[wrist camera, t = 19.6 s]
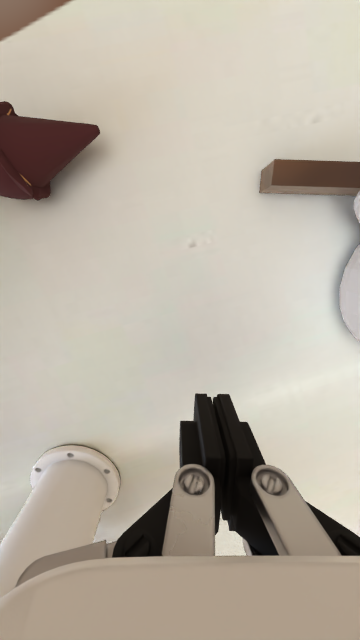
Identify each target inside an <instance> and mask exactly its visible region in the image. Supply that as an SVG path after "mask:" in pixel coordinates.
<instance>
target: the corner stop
mask: <svg viewBox="0 0 360 640" xmlns="http://www.w3.org/2000/svg"><path fill="white" fill-rule="evenodd" d="M359 191H360V162H343V161H312V160H281V159H275V160H273V161H272V162H271V163H270V164H269V165H268V166H267V167H265V168H264V169H263V170H262V173H261V182H260V191H259V193H281V194H314V195H346V196H357V194H358V192H359Z"/></svg>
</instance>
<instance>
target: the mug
mask: <svg viewBox="0 0 360 640" xmlns="http://www.w3.org/2000/svg"><path fill="white" fill-rule="evenodd" d="M354 211H355V215H356V217H357V219H358V221H359V223H360V191H359V192H358V194H357V196H356V198H355V200H354ZM340 310H341V313H342V317H343V320H344V323H345V324H346V326H347V327H348V329H349V330H350V332H351V333H352V335H353V336H354V337H355V338H356V339H357V340H358V341H359V342H360V244H359V245H358V247H357V248H356V249H355V251H354V253H353V255H352V256H351V258H350V260H349V262H348V264H347V266H346V267H345V270H344V274H343V278H342V281H341V285H340Z"/></svg>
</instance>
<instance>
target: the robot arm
mask: <svg viewBox="0 0 360 640" xmlns="http://www.w3.org/2000/svg"><path fill="white" fill-rule="evenodd" d="M179 452H180V469H179V470H178V471H177V473H176V475H175V478H174V484H173V488H172V489H171V490H170V491H169V492H168V493H167V494H166V495H165V496H164V497H162V498H161V499H160V500H159V501H158V502H157V503H156V504H155V505H154V506H153V507H151V508H150V509H149V510H148V511H147V512H146V513H145V514H144V515H143V516H142V517H141V518H139V519H138V520H137V521H136V522H135V523H134V524H133V525H132V526H131V527H130V528H128V529H127V530H126V531H125V532H124V533H123V534H122V535H121V537H120V538H119V539H118V540H117V541H115V542H112V543H108V544H106V540H104V541H101V542H97V543H93V540H94V536H95V533H96V529H97V526H98V523H99V519H100V516H101V512H102V511H104V510H105V509H107V508H109V507H110V506H111V505H112V504H113V502H114V501H115V499H116V498H117V495H118V492H119V487H120V477H119V473H118V471H117V469H116V467H115V466H114V464H113V463H112V462H111V461H110V460H109V459H108V458H107V457H105V456H104V455H103V454H101V453H99V452H97V451H96V450H93V449H90V448H87V447H83V446H74V445H68V446H60V447H57V448H53V449H51V450H49V451H47V452H46V453H44V454H43V455H42V456H41V457H40V458H39V459H38V460H37V462H36V463H35V465H34V466H33V468H32V471H31V474H30V483H31V487H32V492H31V494H30V495H29V497H28V499H27V500H26V502H25V504H24V506H23V507H22V509H21V511H20V512H19V514H18V516H17V517H16V519H15V521H14V522H13V524H12V526H11V527H10V529H9V531H8V532H7V534H6V536H5V537H4V539H3V541H2V542H1V544H0V640H360V537H359V536H357V535H356V534H355V533H353V532H352V531H350V530H349V529H347V528H345V527H344V526H342V525H341V524H339V523H338V522H336V521H335V520H333V519H332V518H330V517H329V516H327V515H326V514H324V513H323V512H321V511H320V510H318V509H317V508H315V507H314V506H312V505H310V504H309V503H307V502H306V501H305V500H304V499H303V497H302V496H301V494H300V493H299V491H298V490H297V488H296V487H295V486H294V484H293V483H292V481H291V480H290V478H289V477H288V476H287V475H286V474H285V473H284V472H283V471H281V470H280V469H278V468H276V467H274V466H270V465H266V464H265V461H264V459H263V457H262V454H261V452H260V450H259V447H258V445H257V443H256V440H255V438H254V436H253V433H252V431H251V429H250V426H249V424H248V423H247V422H240V421H239V419H238V416H237V413H236V411H235V408H234V406H233V403H232V400H231V398H230V395H229V394H218V395H217V397H214V398H213V404H212V400H211V397H207V394H195V405H194V421H180V443H179ZM220 511H221V513H222V518H223V520H227V521H228V526H229V531H236V532H237V533H238V534H239V535H240V536H241V537H242V538H243V546H244V550H245V552H246V555H247V556H215V535H216V534H217V532H218V529H219V520H220ZM92 543H93V544H92Z"/></svg>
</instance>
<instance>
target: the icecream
mask: <svg viewBox="0 0 360 640" xmlns="http://www.w3.org/2000/svg"><path fill="white" fill-rule="evenodd" d="M99 134H100V130H99V128H98V126H97V125H92V124H84V123H75V122H65V121H56V120H47V119H39V118H30V117H21V116H18V115H16V114H15V112H14V109H13V107H12V105H11V104H10V103H9V102H5V101H4V102H0V196H4V197H8V198H15V199H23V200H25V199H33V198H34V199H36V200H40V199H42V198H47V197H49V196H50V193H51V188H50V180H51V179H53V178H54V177H55V176H56V175H57V174H58V173H59V172H60V171H61V170H62V169H63V168H64V167H65V166H66V165H67V164H68V163H69V162H70V161H71V160H72V159H74V158H75V157H76V156H77V155H78V154H79V153H80V152H81V151H82V150H83V149H84V148H85V147H86V146H87V145H89V144H90V143H91V142H92V141H93V140H94V139H95V138H96V137H97V136H98V135H99Z"/></svg>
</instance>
